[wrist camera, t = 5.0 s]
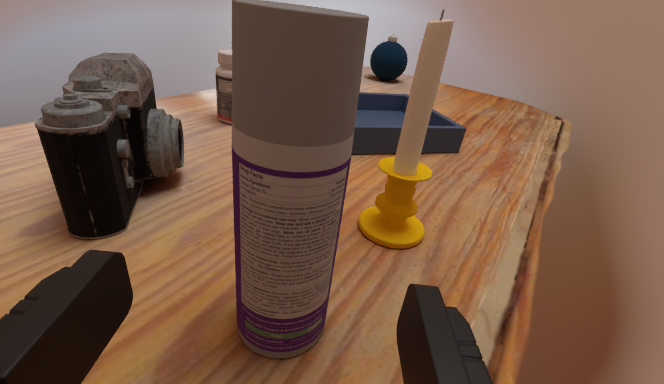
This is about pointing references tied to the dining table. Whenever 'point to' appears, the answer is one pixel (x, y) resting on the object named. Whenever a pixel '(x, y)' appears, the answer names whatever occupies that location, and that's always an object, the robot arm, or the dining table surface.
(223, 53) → the pill bottle
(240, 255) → the container
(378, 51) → the christmas ornament
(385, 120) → the tray
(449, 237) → the dining table surface
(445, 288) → the dining table surface
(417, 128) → the candle
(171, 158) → the camera
